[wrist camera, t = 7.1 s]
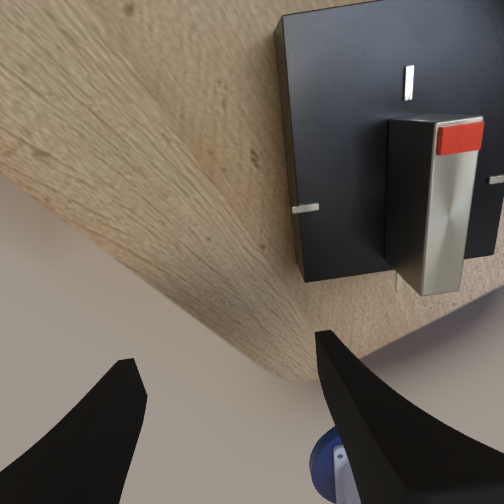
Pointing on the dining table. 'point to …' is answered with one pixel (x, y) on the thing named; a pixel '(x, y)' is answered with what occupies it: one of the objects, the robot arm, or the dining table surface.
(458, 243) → the red-topped metal block
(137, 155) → the dining table surface
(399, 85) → the switch base
